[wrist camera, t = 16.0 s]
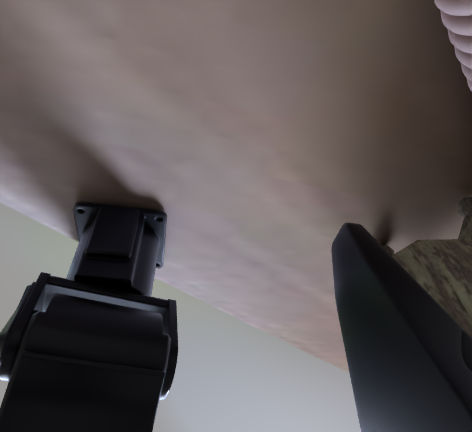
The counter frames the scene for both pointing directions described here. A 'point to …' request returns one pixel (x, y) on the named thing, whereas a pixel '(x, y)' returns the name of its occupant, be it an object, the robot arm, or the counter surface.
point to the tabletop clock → (445, 268)
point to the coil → (459, 31)
